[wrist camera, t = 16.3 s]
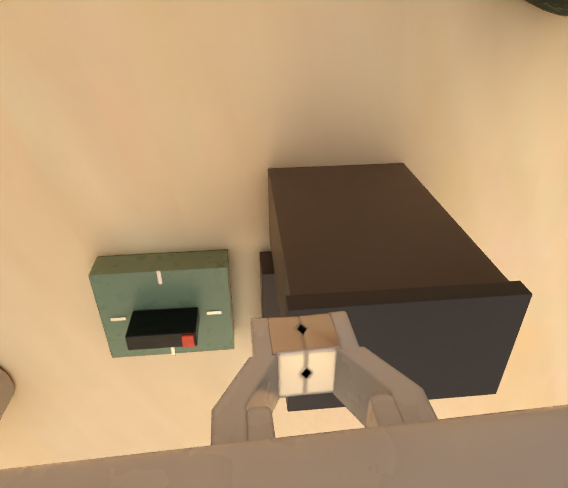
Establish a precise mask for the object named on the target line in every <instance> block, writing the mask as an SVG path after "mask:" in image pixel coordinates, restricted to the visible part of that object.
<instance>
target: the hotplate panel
mask: <svg viewBox="0 0 568 488" xmlns="http://www.w3.org/2000/svg"><path fill="white" fill-rule="evenodd" d="M89 279H90V282H91V286H92V289H93V293H94V296H95V299H96V303H97V306H98V310H99V313H100V317H101V320H102V324H103V327H104V331H105V334H106V338H107V341H108V345H109V348H110V352H111V355H112V358H116V357H129V356H143V355H157V354H171V353H172V355H176V353H184V352H198V351H212V350H226V349H234V320H233V308H232V296H231V284H230V272H229V260H228V250H212V251H194V252H176V253H157V254H139V255H120V256H102V257H97V259H96V261H95V263H94V265H93V267H92V269H91V271H90V273H89ZM193 307H198V310H199V318H200V322H199V332H198V342H197V346H195V347H186V348H183V347H170V348H155V349H140V350H128V348H127V344H126V340H125V335H126V332H127V328H128V325H129V322H130V318H131V315H132V312H133V311H142V310H159V309H176V308H193Z"/></svg>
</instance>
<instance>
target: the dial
mask: <svg viewBox="0 0 568 488" xmlns="http://www.w3.org/2000/svg"><path fill="white" fill-rule="evenodd" d="M199 322H200V318H199V310H198V307H193V308H176V309H159V310H142V311H133V312H132V315H131V318H130V322H129V325H128V328H127V332H126V335H125V340H126V344H127V348H128V350H140V349H155V348H170V347H183V348H186V347H195V346H197V342H198V332H199Z"/></svg>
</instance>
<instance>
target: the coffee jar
mask: <svg viewBox="0 0 568 488" xmlns="http://www.w3.org/2000/svg"><path fill="white" fill-rule="evenodd" d="M525 1H527V2H529V3H531V4H533V5H534V6H536V7H538V8H541V9H543V10H545V11H548V12H551V13H554V14H557V15H562V16H568V0H525Z"/></svg>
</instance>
